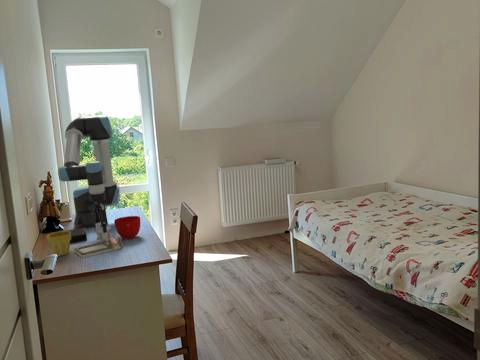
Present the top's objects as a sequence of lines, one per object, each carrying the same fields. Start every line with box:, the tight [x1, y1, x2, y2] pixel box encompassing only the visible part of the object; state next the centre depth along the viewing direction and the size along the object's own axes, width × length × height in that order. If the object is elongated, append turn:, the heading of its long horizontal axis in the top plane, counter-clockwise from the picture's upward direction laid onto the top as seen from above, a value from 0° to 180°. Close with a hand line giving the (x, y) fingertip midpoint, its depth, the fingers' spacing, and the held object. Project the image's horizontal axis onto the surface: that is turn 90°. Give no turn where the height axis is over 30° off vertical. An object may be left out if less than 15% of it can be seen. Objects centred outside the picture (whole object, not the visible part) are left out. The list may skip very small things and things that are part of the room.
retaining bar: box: [106, 235, 119, 247], centre depth 209 cm, size 15×3×2 cm, turn 25°
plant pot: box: [46, 230, 71, 256], centre depth 209 cm, size 10×10×10 cm
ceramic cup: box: [114, 215, 141, 240], centre depth 228 cm, size 13×17×10 cm
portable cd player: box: [52, 228, 88, 244], centre depth 236 cm, size 16×17×4 cm
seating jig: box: [73, 235, 123, 258], centre depth 211 cm, size 13×19×6 cm
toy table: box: [96, 226, 112, 242], centre depth 225 cm, size 10×9×6 cm
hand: (102, 236), depth 225 cm, fingers closed on toy table, 8 cm apart
